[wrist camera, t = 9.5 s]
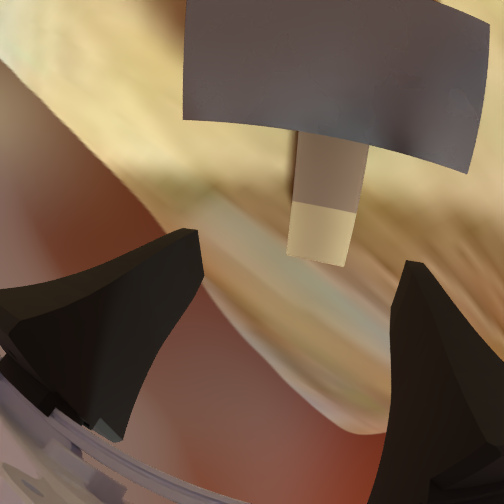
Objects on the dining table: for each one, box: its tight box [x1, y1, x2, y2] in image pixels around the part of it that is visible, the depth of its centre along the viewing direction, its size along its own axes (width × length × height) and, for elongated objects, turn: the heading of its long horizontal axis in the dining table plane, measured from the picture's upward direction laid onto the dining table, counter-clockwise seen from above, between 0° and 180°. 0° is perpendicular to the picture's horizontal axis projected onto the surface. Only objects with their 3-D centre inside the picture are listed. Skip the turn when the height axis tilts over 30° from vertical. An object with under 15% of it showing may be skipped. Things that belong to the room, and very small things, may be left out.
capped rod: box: [286, 131, 369, 267], centre depth 12 cm, size 3×14×3 cm, turn 178°
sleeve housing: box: [183, 0, 490, 174], centre depth 10 cm, size 11×6×5 cm, turn 87°
